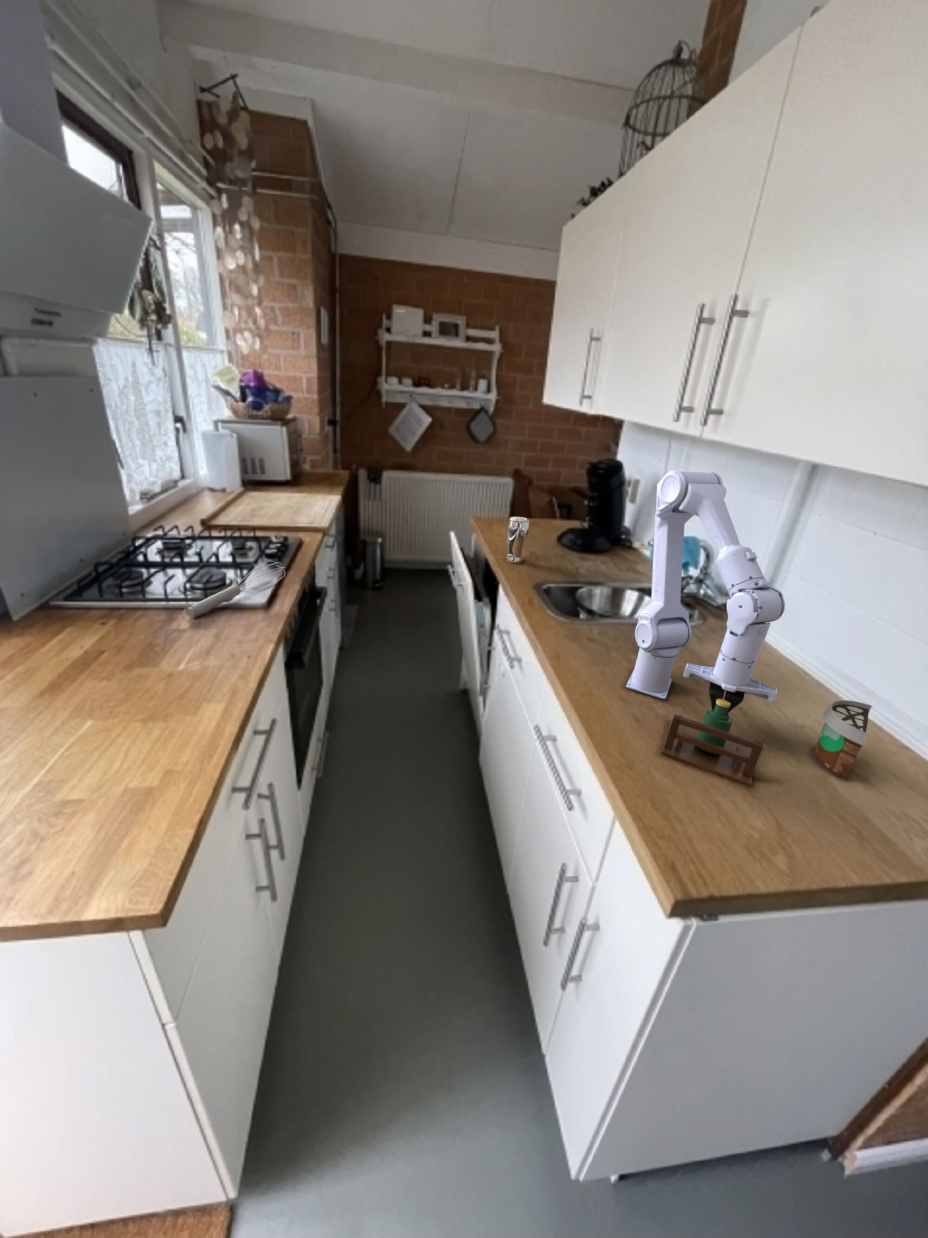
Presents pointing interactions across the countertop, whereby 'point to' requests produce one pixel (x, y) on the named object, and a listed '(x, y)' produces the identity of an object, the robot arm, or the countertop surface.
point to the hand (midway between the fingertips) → (715, 721)
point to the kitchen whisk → (223, 596)
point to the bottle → (716, 723)
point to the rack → (729, 761)
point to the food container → (842, 736)
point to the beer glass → (516, 538)
